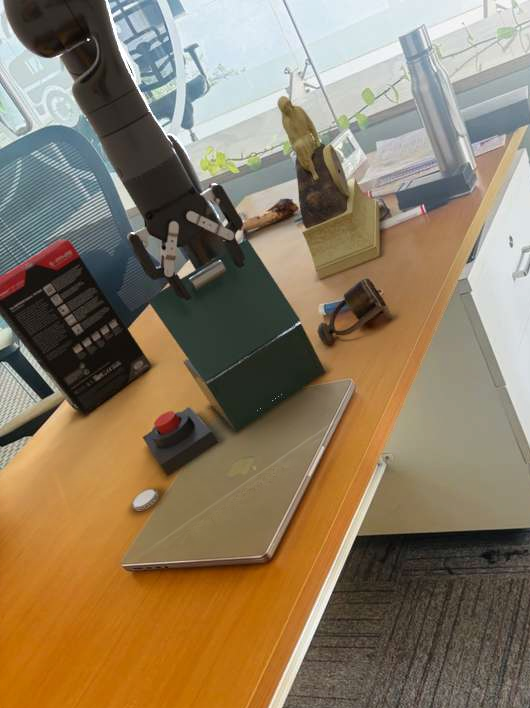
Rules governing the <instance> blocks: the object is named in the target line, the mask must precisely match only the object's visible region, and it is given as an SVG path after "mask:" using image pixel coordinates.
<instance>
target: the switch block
mask: <svg viewBox="0 0 530 708" xmlns="http://www.w3.org/2000/svg"><path fill="white" fill-rule="evenodd" d="M175 414H176V415H177V416H178V418H179V419H180V421H181V422H180V424H179V425H178V426H177V427H176V428H175V429H173V430H172V431H170V432H168V433H165V434H160V432H159V431H158V429H157V428H156V427H155V426H154V427H152V430H150V431H149V432H148V433H147V434H145V435H143V436H142V439H143V441H144V442H145V444H146V445H147V447H148V448H149V450H150V451H151V453H152V455H153V456H154V458H155V459H156V461H157V463H158V465H159V466H160V468H162V470H163V471H164V473H166V475H167V476H170V475H172V474H173V473H175V472H176V471H177V470H179V469H181V468H182V467H183V466H185V465H186V464H188V463H190V462H191V461H192V460H194V459H196V458H197V457H199V456H200V455H202V454H203V453H205V452H206V451H208V450H209V449H211V448H212V447H214V446H215V445H217V444H218V443H219V441H218V439H217V437H216V436H215V435H214V433H213V432H212V429H210V428H209V427H208V426H207V424H206V423H205V422H204V421H203V419H201V418H200V416H199V415H198V414H197V413H196V411H194V409H192V407H191V406H188V407H186V408H185V409H183V410H182V411H178V412H175Z"/></svg>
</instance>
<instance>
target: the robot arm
mask: <svg viewBox="0 0 530 708" xmlns="http://www.w3.org/2000/svg"><path fill="white" fill-rule="evenodd" d="M2 4H3V8H4V9H3V10H4V13H5V17H6V20H7V22H8V24H9V26H10V28H11V30H12V32H13V34H14V35H15V37H16V39H17V40H18V41H19V42H20V44H21V45H22V46H23V47H24V48H25V49H26V50H27V51H29V52H30V53H32V54H33V55H35V56H37V57H40V58H45V59H54V58H58V57H59V59H60V60H61V62H62V63H63V65H64V67H65V69H66V70H67V72H68V74H69V75H70V77H71V79H72V80H73V84H72V86H71V93H72V96H73V98H74V101H75V102H76V104H77V106H78V107H79V109H80V111H81V112H82V114H83V115H84V118H85V119H86V121H87V122H88V124H89V126H90V127H91V129H92V130H93V132H94V134H95V136H96V137H97V138H98V141H99V143H100V146H101V147H102V149H103V152H104V154H105V156H106V159H108V162H109V163H110V165H111V167H112V168H113V170H114V171H115V173H116V175H117V177H118V178H119V180H120V182H121V183H122V185H123V186H124V188H125V190H126V191H127V193H128V195H129V197H130V199H131V201H132V202H133V204H134V205H135V207H136V208H137V210H138V212H139V213H140V215H141V217H142V219H143V222H144V227H142V228H140V229H137V230H135V231H134V232H132V231H129V232H127V233H126V235H125V237H126V238H125V239H126V241H127V243H128V244H129V246H130V248H131V250H132V251H133V253H134V255H135V257H136V259H137V261H138V263H139V264H140V266H141V268H142V269H143V272H144V273H145V275H146V276H147V277H149V278H150V279H151V280H152V281H155V280H158V279H165V280H166V282H167V283H168V286H171V288H172V289H173V291H174V293H175V294H176V295H177V296H178V297H180V298H181V299H182V298H184V299H185V300H187V301H188V300H189V299H191V296H190V294H189V293H188V291H187V289H186V288H185V286H184V284H183V283H182V281H181V279H182V278H180V276H179V274H178V273H176V272H175V261H176V258H177V250H178V249H177V248H182V249H183V251H184V253H185V254H186V256H187V258H188V260H189V262H190V263H191V265H192V267H193V268H194V271H195V270H196V269H198V268H200V267H201V266H203V265H205V264H206V263H208V262H209V261H211V260H213V259H214V258H216V257H218V256H219V255H221V254H223V253H224V252H226V251H228V253H229V255H230V256H231V258H232V260H233V262H234V264H235V265H236V266H237V267H239V268H241V267H242V266H244V263H243V261H244V260H245V256H244V254H243V252H242V250H241V248H240V246H239V242H238V241H237V238H236V235H237V233H238V232H239V229H240V228H242V227H243V222H242V221H244V220H246V218H245V215H244V214H243V212H242V211H241V213H242V215H243V217H244V220H242V217H241V215H240V213H239V211H238V210H237V209H236V208H235V206H234V204H233V203H232V200H231V199H230V198H229V196H228V194H227V192H226V191H225V189H224V187H223V185H221V184H217V183H210V184H209V186H208V188H207V189H206V190H205V189H204V186H203V184H202V182H201V180H200V178H199V176H198V174H197V171H196V169H195V167H194V165H193V163H192V161H191V159H190V157H189V154H188V152H187V151H186V149H185V147H184V146H183V144H182V143H181V141H180V140H179V138H177V136H175V135H174V134H172V133H168V134H166V132H165V131H164V128H163V127H162V125H161V124H160V123H159V121H158V120H157V118H156V117H155V115H154V114H153V112H152V111H151V108H150V107H149V105H148V103H147V101H146V99H145V96H143V94H142V92H141V90H140V88H139V86H138V84H137V83H136V74H135V71H134V68H133V65H132V63H131V62H130V61H131V60H129V57H128V56H127V53H126V52H125V50H124V48H123V47H122V44H121V41H119V38H118V35H117V31H116V26H115V23H114V20H113V16H112V12H111V8H110V4H109V0H2ZM215 206H217V207H218V208H219V209H220V211H221V213H222V215H223V216H224V218H225V220H226V221H227V223H226V224H225V226H224V223H223V221H222V220H221V218H220V215H219V214H218V212H217V211H216V209H215ZM247 232H248V231H246V230H242V237H241V240H240V243H241V242H242V241H244V240H246V239H247ZM149 236H151V237H153V238H156V239H157V240H159V241H160V244H159V245H160V247H159V254H160V261H159V265H158V266H155V264H154V261H153V260H152V258H151V256H150V254H149V252H148V251H147V249H146V248H147V247H148V246H149V241H148V237H149Z"/></svg>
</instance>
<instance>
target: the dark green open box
mask: <svg viewBox="0 0 530 708" xmlns="http://www.w3.org/2000/svg"><path fill="white" fill-rule="evenodd" d="M182 362H183V364H184V365H185V367H186V369H187V370H188V372H189V373H190V374H191V377H192V378H193V380H194V381H195V382H196V384H197V385H198V388H199V389H200V390H201V392H202V393H203V395H204V396H205V398H206V399H207V401H208V402H209V404H210V405H211V406H212V408H213V409H214V410H215V411H216V412H217V413H218V414H219V415H220V416H221V417H222V418H223V419H224V420H225V421H226V422H227V424H229V425H230V427H231V428H232V429H233V430H234V431H235V432H238V431H240V430H241V429H243V428H244V427H246V426H247V425H249V424H250V423H252V422H253V421H254V420H256V419H258V418H259V417H260V416H263V415H264V414H265V413H266V412H268V411H270V410H272V409H273V408H275V406H277V405H279V404H280V403H282V402H283V401H284V400H286V399H287V398H289V397H291V396H293V395H294V394H295V393H296V392H298V391H300V390H301V389H302V388H304V387H306V386H307V385H309V384H311V383H312V382H313V381H315V380H316V379H318V378H319V377H321V376H322V375H324V374H325V373H326V369H325V368H324V366H323V364H322V362H321V360H320V358H319V356H318V354H317V352H316V350H315V348H314V346H313V344H312V342H311V340H310V337H309V336H308V334H307V332H306V331H305V328H304V326H303V324H302V322H300V321H299V322H298V323H296V324H295V325H293V326H292V327H290V328H289V329H287V330H285V331H284V332H282V333H281V334H279V335H278V336H276V337H275V338H273V339H271V340H270V341H268V342H267V343H265V344H264V345H262V346H261V347H259V348H258V349H256V350H254V351H253V352H251V353H250V354H248V355H247V356H245V357H244V358H242V359H241V360H239V361H237V362H236V363H234V364H233V365H231V366H230V367H228V368H227V369H225V370H224V371H222V372H220V373H219V374H217V375H216V376H214V377H213V378H211V379H210V380H208V381H206V382H204V381H203V379H202V378H201V376H200V375H199V374H198V372H197V371H196V369H195V368H194V366H193V365H192V364H191V362H190V361H189V359H188V358H186V359H185V360H183V361H182ZM281 394H282V395H281ZM278 396H279V397H278ZM275 398H276V399H275ZM272 400H273V401H272ZM260 408H261V409H260ZM257 410H258V411H257Z"/></svg>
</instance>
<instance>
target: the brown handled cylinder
mask: <svg viewBox="0 0 530 708" xmlns="http://www.w3.org/2000/svg"><path fill="white" fill-rule="evenodd" d="M375 286H376V285H375V284H374V283H373V282H372V281H371V280H370V278H366V277H363V278H361V279H360V280H359V281H358V282H356V283H355V284H354V285H353V286H352V287H350V288H349V289H348V290H347V291H346V292H344V293H343V299H342V300H341V301H340V302H339V303H338V304H337V305H336V307H335V308H334V310H333V311H332V313H331V314H330V316H329V317H330V318H329V324H327V323H326V322H324V321H322V322H320V323H319V325H318V328H317V334H318V338H319V339H320V340H321V342H323V343H324V344H327V345H330V344H332V343H333V342H334V337H333V334H335V335H336V336H341V337H342V336H343V337H344V336H347V335H351V334H353V333H354V332H356V331H357V330H359V329H360V328H361V327H362V326H366V327H368V326H369V325H370V324H372V323H373V322H374V321H376V320H377V319H379V317H381V316H382V315H383V314H384V315H385V316H386V318H388V319H392V314H391V312H390V310H389V307H388V305H387V303H386V302H385V299H384V298H383V296H382V295H381V294H380V292H379V291H378V289H377V288H376V287H375ZM346 305H347V307H348V308H349V310H350V311H351V313H352V314H353V315H354V316H355V317H356V319H357V320H358V321H356V322H355V323H354V324H353V325H351V326H350V327H348V328H346V329H344V330H337V329H336V326H335V322H336V318H337V316H338V315H339V313H340V312H341V310H342V309H343V308H344V307H345V306H346Z"/></svg>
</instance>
